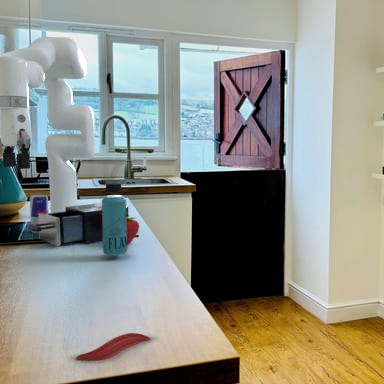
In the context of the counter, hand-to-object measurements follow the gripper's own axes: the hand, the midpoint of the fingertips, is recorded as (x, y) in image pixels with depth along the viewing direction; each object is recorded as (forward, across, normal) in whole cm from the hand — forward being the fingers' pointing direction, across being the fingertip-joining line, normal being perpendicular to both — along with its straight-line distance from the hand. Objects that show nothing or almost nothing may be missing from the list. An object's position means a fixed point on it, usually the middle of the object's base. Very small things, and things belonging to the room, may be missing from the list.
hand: (16, 167), depth 131 cm
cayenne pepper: (+24, -72, +14) cm, 77 cm away
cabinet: (+23, 0, -24) cm, 33 cm away
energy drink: (+23, +19, -14) cm, 33 cm away
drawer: (+22, 0, -13) cm, 25 cm away
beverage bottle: (+23, -25, -15) cm, 37 cm away
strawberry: (+23, -15, -25) cm, 37 cm away
